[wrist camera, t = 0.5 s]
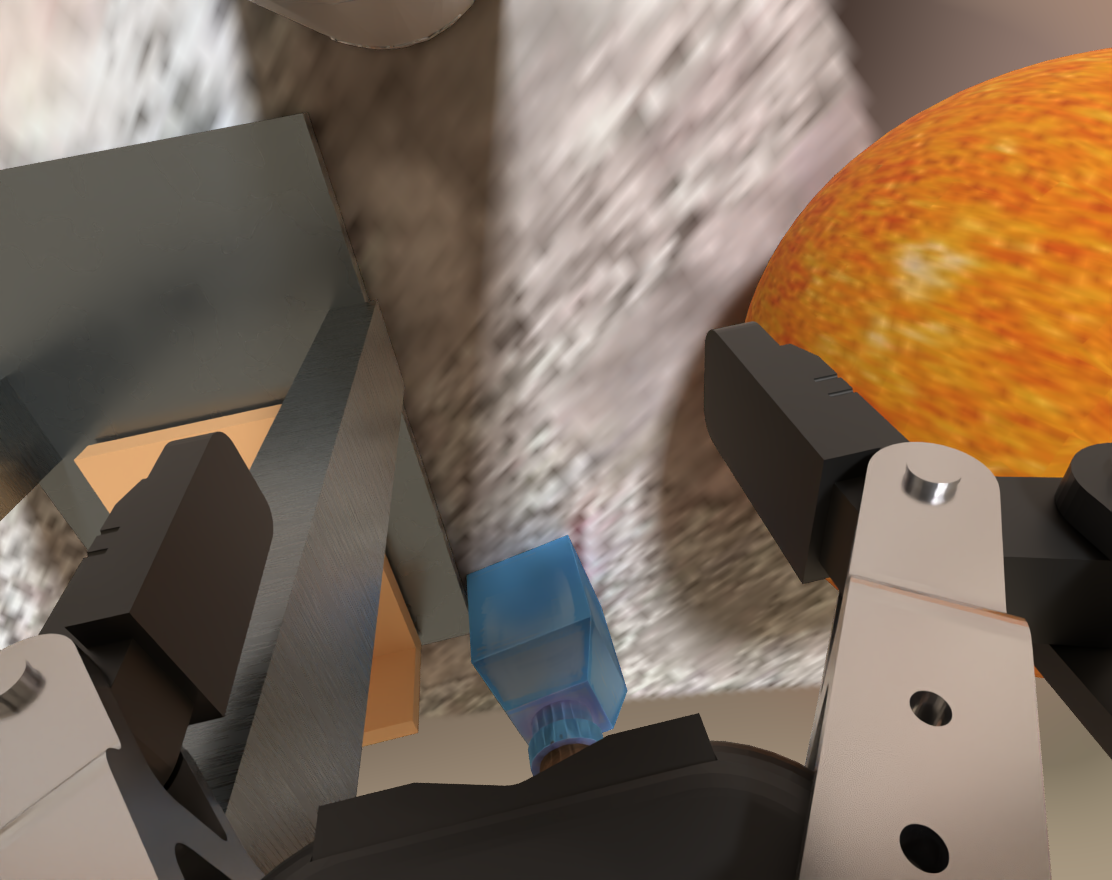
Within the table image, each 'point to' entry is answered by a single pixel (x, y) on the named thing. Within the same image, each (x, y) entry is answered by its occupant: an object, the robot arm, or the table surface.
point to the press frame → (225, 389)
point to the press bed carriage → (134, 457)
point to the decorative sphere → (969, 270)
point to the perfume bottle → (545, 650)
